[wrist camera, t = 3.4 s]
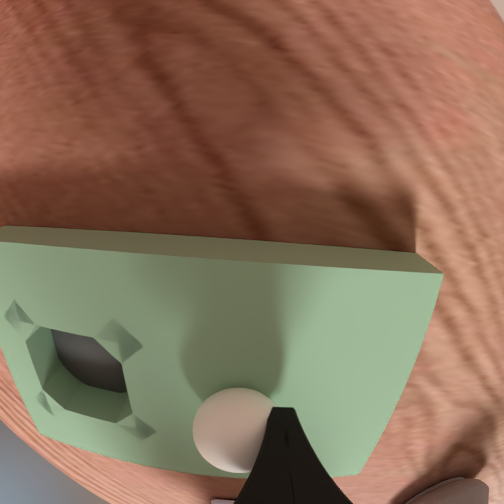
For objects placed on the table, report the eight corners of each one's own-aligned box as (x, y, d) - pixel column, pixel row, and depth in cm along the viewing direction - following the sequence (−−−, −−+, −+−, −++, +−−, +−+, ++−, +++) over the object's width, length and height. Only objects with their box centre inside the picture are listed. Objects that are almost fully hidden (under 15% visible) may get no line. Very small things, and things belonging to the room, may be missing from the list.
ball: (293, 460, 11) (234, 503, 9) (234, 422, 13) (174, 451, 11) (312, 399, 10) (245, 444, 8) (242, 361, 13) (173, 388, 10)
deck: (351, 444, 17) (358, 474, 14) (54, 410, 17) (40, 434, 14) (416, 252, 13) (443, 274, 10) (5, 225, 13) (-26, 239, 10)
